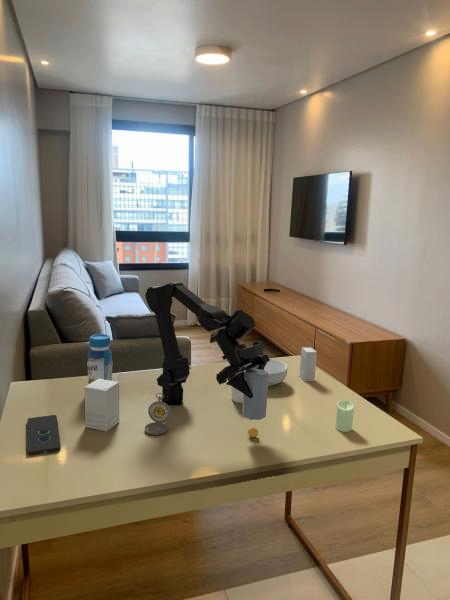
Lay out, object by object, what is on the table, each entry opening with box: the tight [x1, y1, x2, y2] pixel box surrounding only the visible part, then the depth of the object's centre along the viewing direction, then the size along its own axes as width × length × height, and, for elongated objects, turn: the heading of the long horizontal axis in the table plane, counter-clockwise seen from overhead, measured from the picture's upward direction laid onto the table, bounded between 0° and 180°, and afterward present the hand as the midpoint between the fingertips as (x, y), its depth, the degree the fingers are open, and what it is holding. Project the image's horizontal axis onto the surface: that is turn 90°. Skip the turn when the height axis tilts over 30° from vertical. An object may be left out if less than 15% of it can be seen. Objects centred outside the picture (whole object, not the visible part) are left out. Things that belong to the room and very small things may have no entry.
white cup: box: [231, 371, 245, 404], centre depth 155 cm, size 8×8×10 cm
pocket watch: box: [144, 392, 171, 436], centre depth 131 cm, size 8×8×10 cm
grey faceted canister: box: [241, 369, 269, 421], centre depth 128 cm, size 7×7×12 cm
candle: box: [334, 399, 355, 433], centre depth 137 cm, size 5×5×8 cm
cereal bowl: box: [264, 358, 289, 387], centre depth 172 cm, size 17×17×7 cm
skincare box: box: [298, 347, 318, 382], centre depth 177 cm, size 6×4×12 cm
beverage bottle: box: [86, 333, 114, 385], centre depth 154 cm, size 8×8×20 cm
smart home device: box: [26, 414, 62, 457], centre depth 125 cm, size 8×2×20 cm
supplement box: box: [83, 379, 121, 432], centre depth 132 cm, size 7×7×13 cm
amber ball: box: [247, 426, 259, 438], centre depth 130 cm, size 3×3×3 cm
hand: (259, 394), depth 127 cm, fingers closed on grey faceted canister, 6 cm apart
